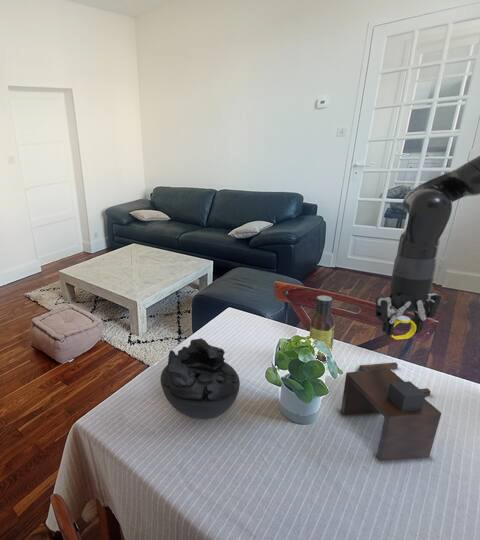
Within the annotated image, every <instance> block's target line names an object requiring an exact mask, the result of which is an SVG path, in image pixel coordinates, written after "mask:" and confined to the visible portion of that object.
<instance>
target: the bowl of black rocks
mask: <svg viewBox="0 0 480 540" xmlns="http://www.w3.org/2000/svg"><path fill="white" fill-rule="evenodd" d="M225 353H226V352H225V350H224V349H223V348H221V347H218V346H213V345H211V344H209V343H208V342H207V341H206V340H205V339H203V338H202V337H201V338H194V339H191V340H190V343H189V345H188V347H187V346H182V348H181V349H179V350H178V351H177V354H176V352H175V351H174V350H173V349H170V350H169V352H168V356H167V365H165V367H163V369H162V370H161V373H160V386H161V389H162V392H163V394H164V396H165V399H166V400H167V402H169V404H170V405H171V406H172V408H174V409H175V410H177V412H179V413H180V414H182V415H184V416H185V417H188V418H191V419H193V420H194V419H195V420H212V419H216V418H217V417H220V416H222V415H223V414H225V413H226V412H227V411H228V410H230V408H231V407H232V406H233V405H234V403H235V401H236V400H237V397H238V396H239V392H240V385H241V380H240V377H239V374H238V373H237V371H236V370H235V368H233V367H232V365H230V364H229V363H228V362H226V361H225V360H226V358H225V357H224V356H225Z"/></svg>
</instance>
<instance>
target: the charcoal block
mask: <svg viewBox="0 0 480 540" xmlns="http://www.w3.org/2000/svg"><path fill="white" fill-rule="evenodd" d="M420 389H421V388H419V387H418V386H416V385H415V384H414V383H413V382H411V380H408V381H404V382H395V383H390V386H389V391H388V395H387V399H389V400H390V401H391V402H392V403H393V404H394V405H395V406H396V407H397V408H398V409H399V410H400V411H401V412H407V411H420V410H422V407H423V403H424V399H426V396H425V395H426V394H424V393H423V392H422V391H421V390H420Z"/></svg>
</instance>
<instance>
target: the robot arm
mask: <svg viewBox="0 0 480 540" xmlns="http://www.w3.org/2000/svg"><path fill="white" fill-rule="evenodd" d="M477 196H480V155H478V156H476V157H475V158H472V159H471V160H469V161H467V162H466V163H463V164H462V165H460V166H459V167H457V168H455V169H453V170H451V171H447V172H445V173H443V174H440V175H439V176H436V177H434V178H431V179H429V180H427V181H425V182H423V183H420V184H419V185H417V186H415V187H414V188H412V189H411V190H409V191H408V193H406V195H405V197H404V198H403V200H402V207H403V210H404V211H405V212H406V213H407V214H408V217H407V218H408V219H407V223H406V226H405V230H404V231H402V233H401V234H400V237H399V241H398V246H397V247H398V248H397V252H396V256H395V259H394V262H393V266H392V267H393V268H392V274H391V279H390V284H389V285H390V294H389V295H388V297H381V296H377V297H376V298H375V318H377V319H378V320H379V321H381V322H382V328H381V330H382V332H383V333H384V334H385V335H386V336H388V337H391V336H392V334H393V333H394V328H395V327H394V322H395V320H396V319H397V318H398V317H400V316H403V314H404V313H407V312H412V314H413V315H412V317H411V320H412V321H413V322H414V323H415V324H416V331H415V333H414V334H420V333H421V332H422V330H423V326H424V322H425V321H426V320H427V319H429V318H430V319H433V318H435V316H436V312H437V310H438V308H439V305H440V302H441V301H442V296H441V295H439V294H437V293H435V292H434V291H433V292H432V287H433V283H434V278H435V273H436V268H437V257H438V253H439V248H440V242H441V237H442V235H443V234H444V232H445V230H446V227H447V225H448V223H449V221H450V218H451V215H452V213H453V212H452V211H453V203H454V202H456V201H458V200H460V199H462V198H466V197H477ZM410 329H411V326H410V327H409V330H410ZM393 335H394V334H393Z"/></svg>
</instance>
